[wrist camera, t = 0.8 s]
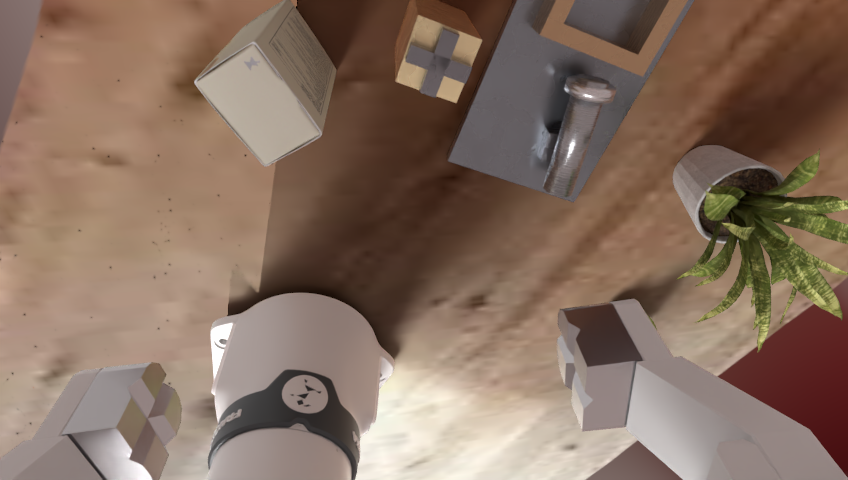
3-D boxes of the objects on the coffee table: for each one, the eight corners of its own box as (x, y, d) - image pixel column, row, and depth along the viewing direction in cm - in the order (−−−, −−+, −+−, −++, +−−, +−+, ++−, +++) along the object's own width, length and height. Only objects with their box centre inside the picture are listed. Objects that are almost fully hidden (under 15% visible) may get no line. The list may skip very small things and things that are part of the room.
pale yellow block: (444, 64, 40) (457, 107, 32) (394, 45, 39) (395, 85, 31) (464, 11, 38) (484, 43, 30) (412, -10, 37) (418, 17, 29)
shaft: (569, 178, 45) (585, 203, 41) (529, 173, 45) (541, 198, 41) (605, 72, 40) (625, 90, 37) (559, 66, 40) (576, 83, 36)
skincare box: (240, 27, 38) (185, 77, 28) (289, -5, 37) (250, 33, 27) (295, 103, 41) (263, 171, 31) (341, 74, 40) (324, 136, 30)
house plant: (576, 211, 48) (649, 337, 34) (668, 68, 41) (803, 154, 28) (701, 255, 52) (812, 385, 38) (805, 130, 45) (985, 234, 31)
